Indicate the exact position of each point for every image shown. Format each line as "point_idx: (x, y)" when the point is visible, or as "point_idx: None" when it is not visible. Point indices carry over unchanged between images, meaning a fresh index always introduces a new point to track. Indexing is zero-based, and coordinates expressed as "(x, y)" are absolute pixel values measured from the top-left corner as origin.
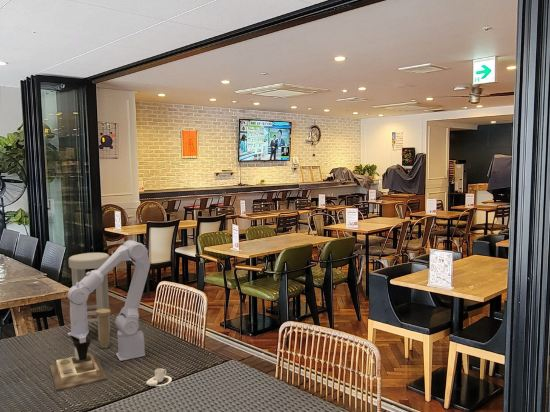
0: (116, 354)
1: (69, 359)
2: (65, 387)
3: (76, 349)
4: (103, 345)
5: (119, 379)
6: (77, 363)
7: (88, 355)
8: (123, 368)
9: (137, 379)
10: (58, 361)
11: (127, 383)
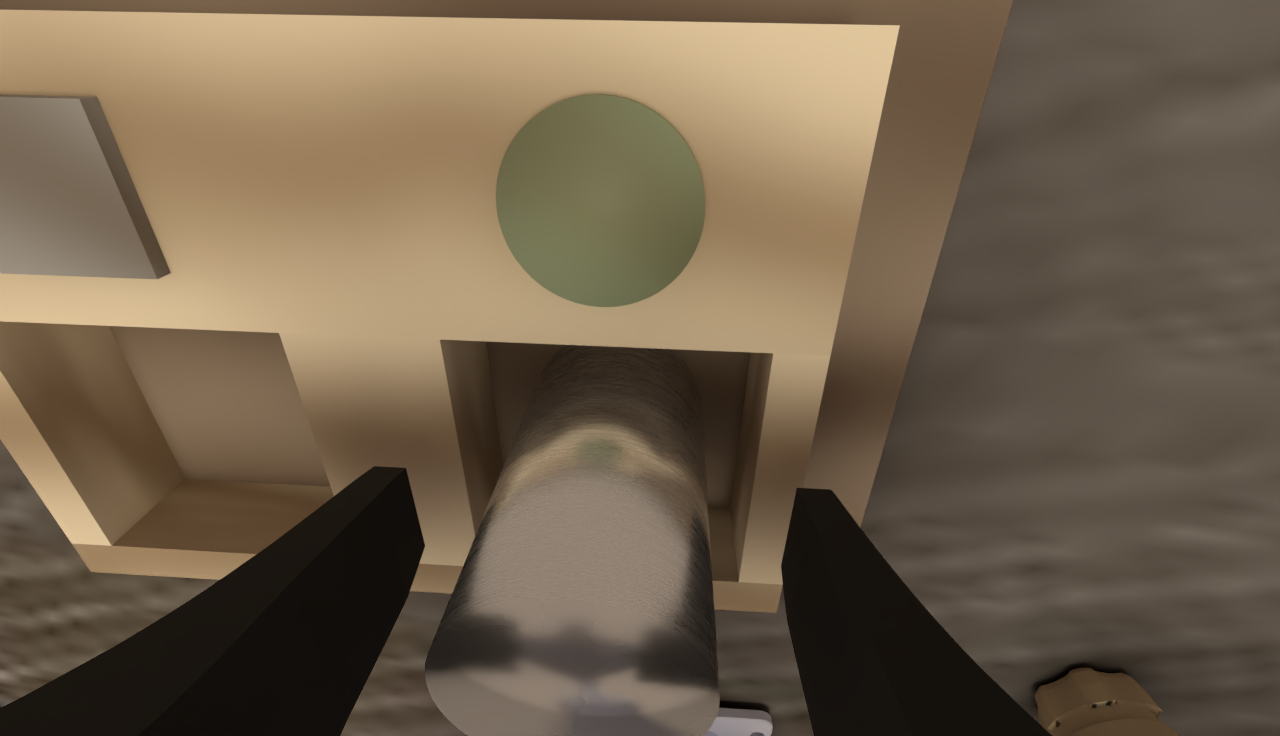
0: (724, 718)
1: (724, 312)
2: None
3: (462, 606)
4: (1075, 712)
5: (118, 603)
6: (433, 396)
7: (738, 568)
8: (373, 673)
9: None
10: (764, 74)
11: (19, 625)
